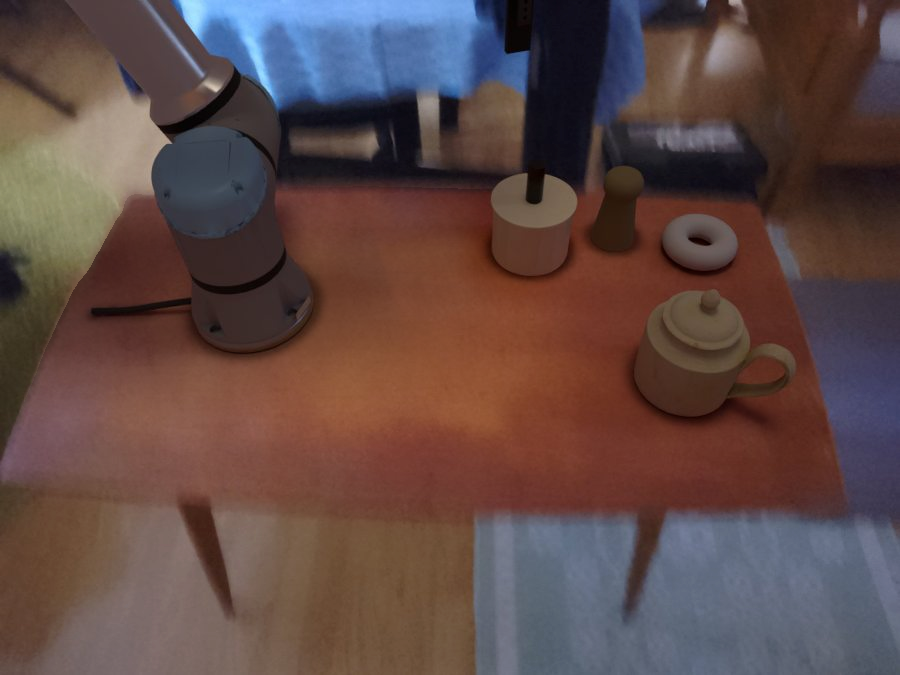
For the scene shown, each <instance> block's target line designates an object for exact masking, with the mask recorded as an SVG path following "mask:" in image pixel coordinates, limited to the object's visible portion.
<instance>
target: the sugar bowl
mask: <svg viewBox="0 0 900 675" xmlns="http://www.w3.org/2000/svg"><path fill="white" fill-rule="evenodd" d="M750 349H751V336H750V334H749V331H748V328H747V326H746V325H745V321H744V318H743V316H742V314H741V313H740V310H739V309H738V308H737V307H736V306H735V304H733V303H732V302H731V301H729V300H727V299H726V298H724V297H722V296H721V295H720V292H719V290H716V289H714V288H711V289H707V290H706V291H704V290H684V291H682V292H678V293H676V294H674V295H672V296H671V297H670V298H668V300H666V301H664V302H661V303H659V304H658V305H657V306H656V307H655V308H654V309H653V310H652V311H651V312H650V314H649V316H648V318H647V321H646V324H645V327H644V330H643V332H642V336H641V340H640V343H639V346H638V351H637V355H636V359H635V363H634V367H633V378H634V382H635V385H636V388H637V389H638V391H639V393H640V394H641V395H642V396H643V398H645V399H646V401H648V402H649V403H650V404H651V405H653V406H654V407H656V408H657V409H659V410H660V411H664V412H665V413H668V414H671V415H675V416H678V417H679V416H680V417H687V418H689V417H693V418H694V417H700V416H705V415H708V414H710V413H712V412H714V411H716V410H717V409H719V408H720V407H721V406H722V405H723V404H724V402H725V401H726V399H732V398H763V397H768V396H773V395H775V394H777V393H779V392H782V391H783V390H784V389H785V388H787V387H788V386H789V385H790V384H791V382H793V379H794V378H795V375H796V372H797V362H796V360H795V359H796V358H795V356H794V355H793V354H792V352H791V351H790V350H789V349H788V348H786V347H784V346H782V345H780V344H778V343H763V344H759V345H758V346H756V347H754V348H753V349H751V350H750ZM762 358H765V359H766V358H767V359H772V360H774V361H776V362H777V363H779V365H781V366H782V368H783V370H784V374H783V375H782V376H781V377H779V378H777V379H776V380H771V381H769V382H763V383H762V382H761V383H746V382H736V380H737V378H738V377H739V376H740V374H741V373H742V372H743V371H745V370H746V369H747V368H748V367H749V366H751V364H753V363H754V362H755V361H756V360H758V359H762Z"/></svg>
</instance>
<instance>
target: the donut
mask: <svg viewBox="0 0 900 675" xmlns="http://www.w3.org/2000/svg"><path fill="white" fill-rule="evenodd" d="M694 238H695V239H701V240H704V241H706V242H707V243H709V245H700V244H698V243H694V242H692V241H691V240H689V239H694ZM661 241H662V247H663V249H664V251H665V254H666V255H667V256H668V257H669V258H670V259H671V261H673V262H674V263H676V264H678V265H679V266H682V267H683V268H686V269H689V270H692V271H700V272H706V271H707V272H708V271H715V270H716V271H717V270H719V269H721V268H723V267H725V266H727V265H729V263H731V261H733V260H734V259H735V257H736V254H737V253H738V249H739V243H738V237H737V235H736V233H735V232H734V229H733V228H731V227H730V225H729V224H727V223H726V222H725V221H723V220H721V219H719V218H718V217H715V216H712V215H709V214H704V213H687V214H683V215H680V216H677V217H675V218H674V219H673V220H671V221H670V222H669V223H668V224H666V226H665V228H664V230H663V231H662V234H661Z"/></svg>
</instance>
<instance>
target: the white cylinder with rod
mask: <svg viewBox="0 0 900 675" xmlns="http://www.w3.org/2000/svg"><path fill="white" fill-rule="evenodd" d="M546 169H547V163H546V160H544V159H542V158H539V157H537V158H531V159H530V160H529V161H528V163H527V172H523V173H517V174H514V175H512V176H508V177H505V178H504V179H503V180H501V181H500V182H498V183H497V184H496V185H495V187H494V188H493V189H492V191H491V196H490V207H491V209H492V212H493V211H494V213H495V214H496V215H497V216H498V217H499V218H500V219H501V220H502V221H504V222H505V223H507V224H509V225H511V226H514V227H517V228H520V229H525V230H547V229H552V228H555V227H558V226H560V225H562V224H564V223H566V222H567V221H568V220H569V219H571V218H572V216H573V217H574V216H575V213H576V211H577V208H578V197H577V194H576V192H575V190H574V189H573V187H571V186H570V185H569V184H568V183H567V182H565V181H564V180H562V179H560V178H558V177H555V176H553V175H551V174H546V171H547V170H546Z"/></svg>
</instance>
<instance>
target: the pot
mask: <svg viewBox="0 0 900 675" xmlns="http://www.w3.org/2000/svg"><path fill="white" fill-rule="evenodd" d="M573 217H574V215H573V216H572V218H571V219H569V220H568V221H567V222H566V223H564V224H562V225H560V226H558V227H555V228H552V229H547V230H525V229H520V228H517V227H514V226H511V225H509V224H507V223H505V222H504V221H502V220H501V219H500V218H499V217H498V216H497V215H496V214H495V213H494V211H493V210H492V230H491V232H492V233H491V252H492V256H493V258H494V260H495V261H496V263H497V264H498V265H499V266H500V267H501V268H503V269H504V270H506V271H508V272H510V273H513V274H515V275H518V276H519V275H520V276H525V277H536V276H537V277H539V276H543V275H547V274H550V273H552V272H554V271H556V270H558V269H559V268H560V267H561V266H562V265H563V263H565V260H566V258H567V256H568V251H569V243H570V238H571V231H572V224H573V219H574V218H573Z"/></svg>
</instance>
